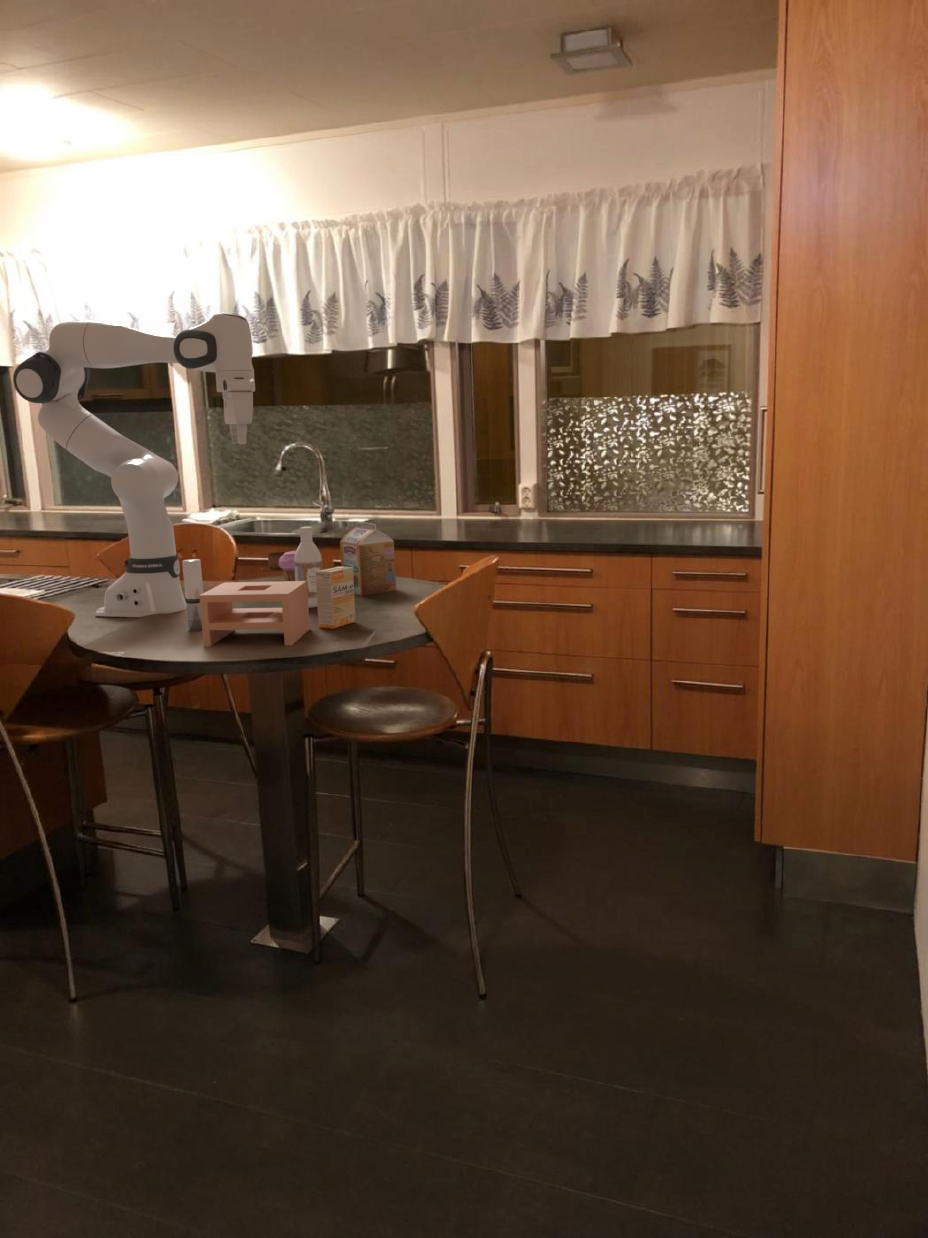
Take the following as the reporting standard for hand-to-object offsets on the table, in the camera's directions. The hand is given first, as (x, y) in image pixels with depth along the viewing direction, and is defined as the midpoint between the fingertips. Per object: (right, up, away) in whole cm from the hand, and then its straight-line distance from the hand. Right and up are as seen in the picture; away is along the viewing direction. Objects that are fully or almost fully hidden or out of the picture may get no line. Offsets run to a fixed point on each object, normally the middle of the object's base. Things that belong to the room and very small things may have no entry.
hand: (239, 443), depth 234 cm
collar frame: (+9, -46, -19) cm, 50 cm away
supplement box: (+25, -43, -9) cm, 51 cm away
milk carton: (+28, -35, +31) cm, 55 cm away
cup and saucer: (-3, -28, +71) cm, 77 cm away
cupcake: (+5, -32, +48) cm, 58 cm away
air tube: (-8, -44, -9) cm, 46 cm away
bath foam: (+15, -39, +16) cm, 44 cm away
